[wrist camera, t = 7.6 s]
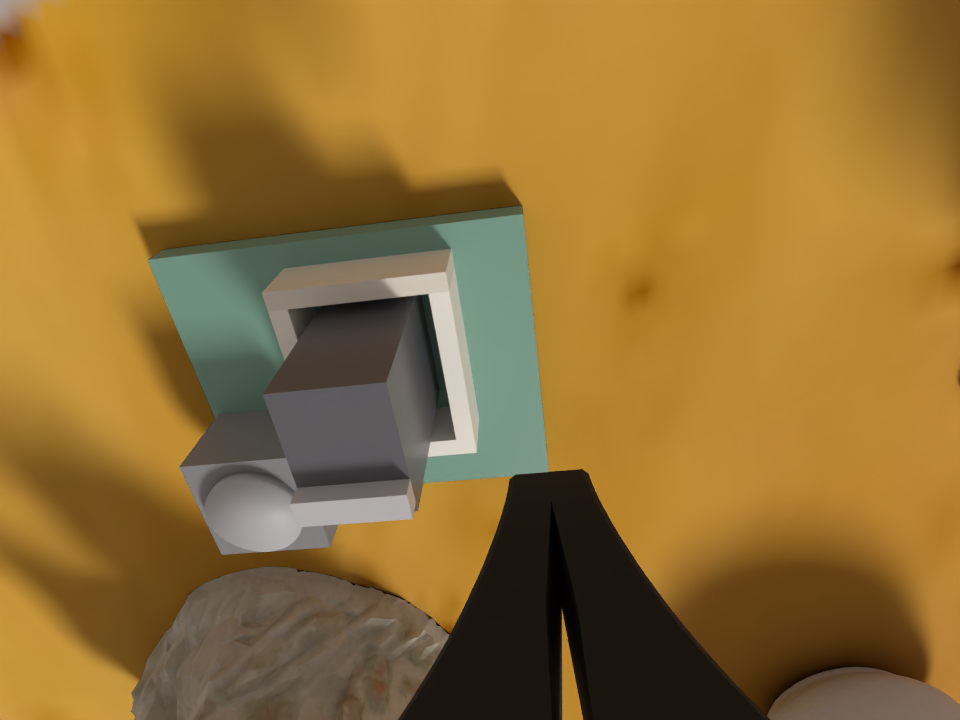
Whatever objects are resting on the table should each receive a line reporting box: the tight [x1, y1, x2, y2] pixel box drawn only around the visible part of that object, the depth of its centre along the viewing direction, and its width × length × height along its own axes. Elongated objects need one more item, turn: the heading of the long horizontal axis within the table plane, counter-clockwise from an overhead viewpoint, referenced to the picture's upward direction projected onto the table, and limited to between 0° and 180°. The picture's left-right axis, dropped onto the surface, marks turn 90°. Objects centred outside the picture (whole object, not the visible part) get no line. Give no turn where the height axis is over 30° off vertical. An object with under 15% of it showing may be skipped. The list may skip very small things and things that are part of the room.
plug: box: [263, 295, 440, 527], centre depth 17 cm, size 3×4×7 cm
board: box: [148, 205, 549, 555], centre depth 20 cm, size 12×10×4 cm
